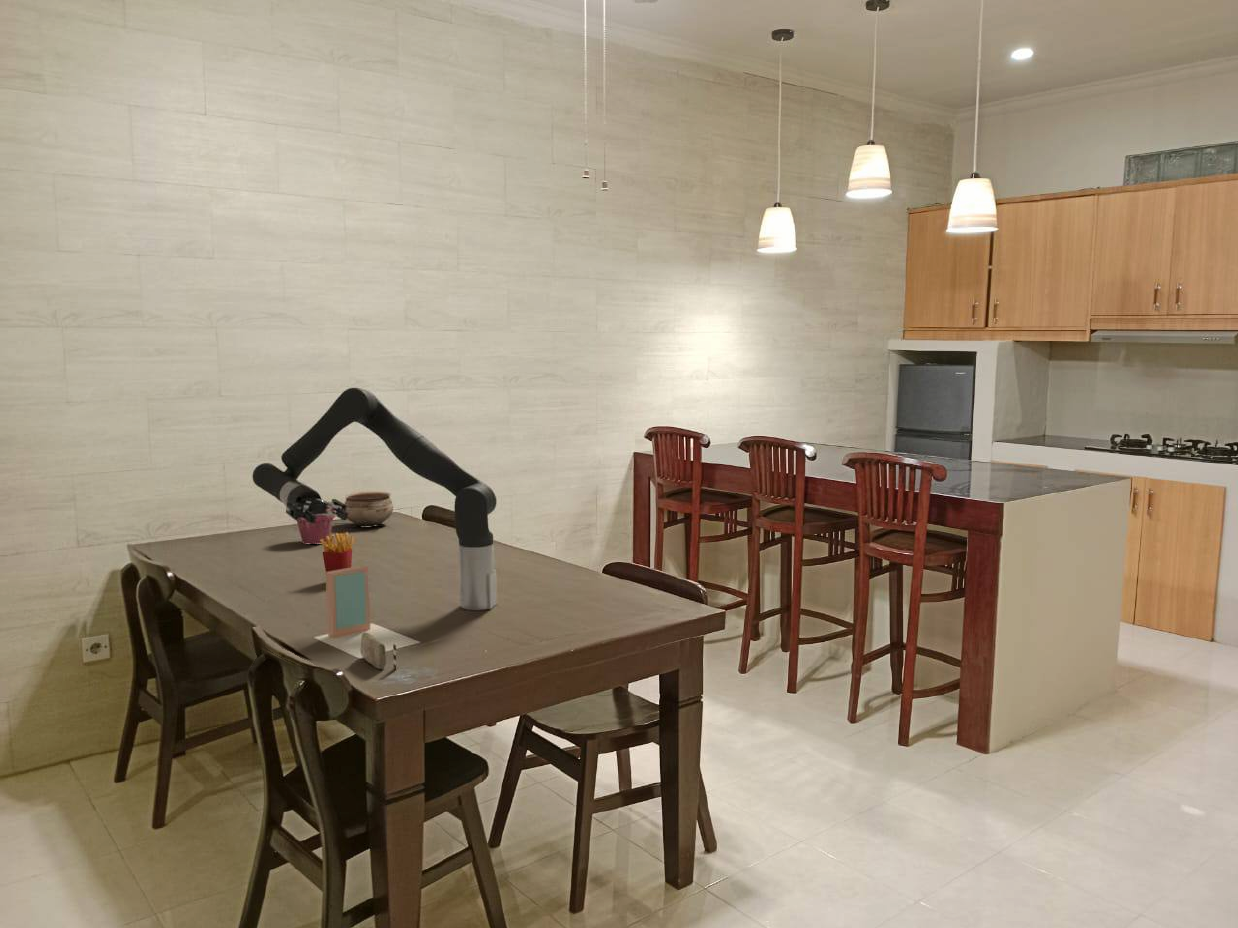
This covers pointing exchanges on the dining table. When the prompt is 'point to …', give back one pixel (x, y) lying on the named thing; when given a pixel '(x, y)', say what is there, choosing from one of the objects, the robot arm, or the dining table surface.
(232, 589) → the dining table surface
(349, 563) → the french fries
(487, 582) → the robot arm
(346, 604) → the tile
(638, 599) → the dining table surface
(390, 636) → the mat
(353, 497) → the cooking pot
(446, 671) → the dining table surface
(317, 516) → the plant pot
